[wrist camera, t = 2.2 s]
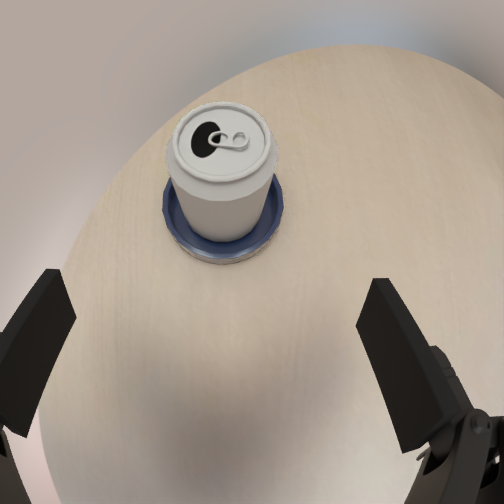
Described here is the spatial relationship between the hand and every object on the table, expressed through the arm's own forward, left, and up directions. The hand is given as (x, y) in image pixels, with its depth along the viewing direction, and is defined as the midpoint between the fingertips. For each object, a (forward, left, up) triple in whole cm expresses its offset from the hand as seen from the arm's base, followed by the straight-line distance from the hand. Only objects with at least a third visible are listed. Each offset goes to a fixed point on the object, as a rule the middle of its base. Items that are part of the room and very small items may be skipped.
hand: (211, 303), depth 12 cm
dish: (0, +10, -16) cm, 19 cm away
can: (0, +10, -15) cm, 18 cm away
